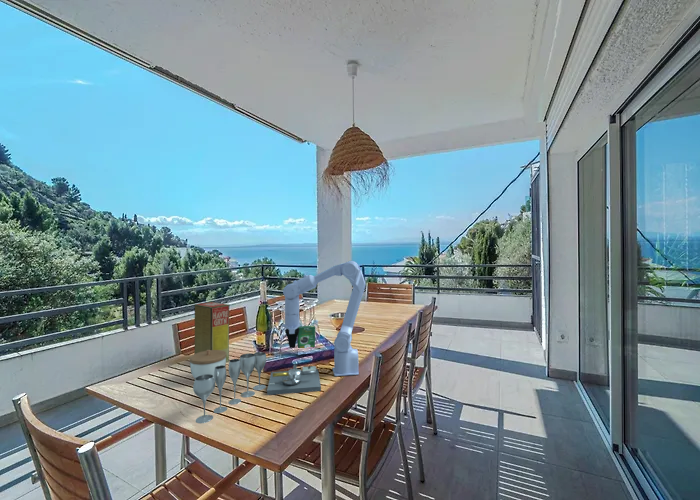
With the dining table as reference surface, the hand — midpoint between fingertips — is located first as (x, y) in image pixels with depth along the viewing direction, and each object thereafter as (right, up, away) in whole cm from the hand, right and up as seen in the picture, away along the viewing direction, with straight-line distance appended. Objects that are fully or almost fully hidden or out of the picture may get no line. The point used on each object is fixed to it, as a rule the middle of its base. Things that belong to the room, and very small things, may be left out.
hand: (292, 347), depth 126 cm
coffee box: (+3, -10, +20) cm, 22 cm away
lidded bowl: (-30, -10, -8) cm, 33 cm away
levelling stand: (+3, -9, -12) cm, 15 cm away
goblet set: (-14, -10, -26) cm, 31 cm away
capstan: (+3, -8, -15) cm, 17 cm away
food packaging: (-37, -10, +11) cm, 40 cm away
